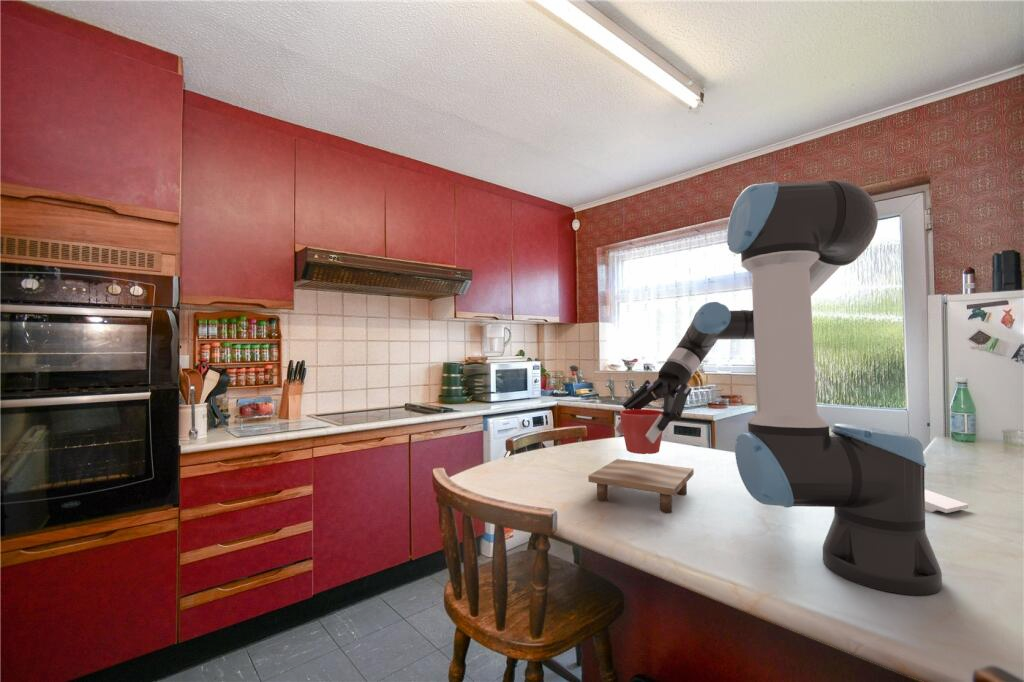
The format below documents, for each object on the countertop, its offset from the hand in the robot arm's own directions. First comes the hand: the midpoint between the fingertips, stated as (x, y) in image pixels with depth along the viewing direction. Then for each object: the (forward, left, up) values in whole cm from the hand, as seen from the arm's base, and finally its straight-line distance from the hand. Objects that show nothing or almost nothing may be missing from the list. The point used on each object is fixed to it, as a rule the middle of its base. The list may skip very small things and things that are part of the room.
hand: (632, 435), depth 113 cm
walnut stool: (+2, -1, -15) cm, 15 cm away
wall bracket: (+35, -52, -16) cm, 65 cm away
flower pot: (+3, -1, -4) cm, 5 cm away
